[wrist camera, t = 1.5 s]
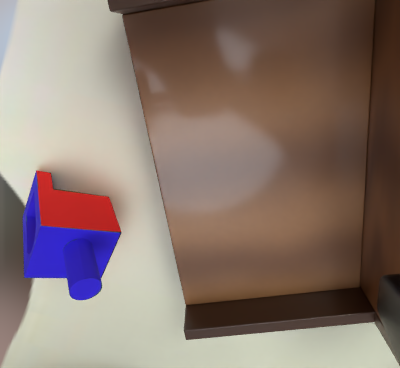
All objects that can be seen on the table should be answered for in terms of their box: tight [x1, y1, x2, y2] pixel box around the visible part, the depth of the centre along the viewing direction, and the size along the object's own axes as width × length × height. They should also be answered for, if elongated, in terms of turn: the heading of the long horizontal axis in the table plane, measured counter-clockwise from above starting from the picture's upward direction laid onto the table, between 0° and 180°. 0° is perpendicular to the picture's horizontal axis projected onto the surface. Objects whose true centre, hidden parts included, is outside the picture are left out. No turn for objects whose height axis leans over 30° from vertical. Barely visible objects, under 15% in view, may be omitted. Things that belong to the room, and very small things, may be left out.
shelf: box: [108, 0, 400, 365], centre depth 15 cm, size 19×16×10 cm
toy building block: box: [23, 171, 121, 300], centre depth 19 cm, size 4×4×8 cm
